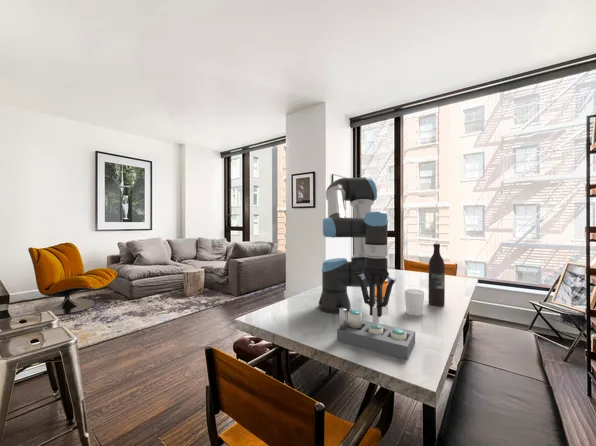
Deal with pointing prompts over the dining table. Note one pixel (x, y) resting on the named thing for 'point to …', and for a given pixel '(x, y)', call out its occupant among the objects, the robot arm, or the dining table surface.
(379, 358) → the dining table surface
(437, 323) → the dining table surface
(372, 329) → the knob middle
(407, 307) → the white cup
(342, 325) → the grey metal rod
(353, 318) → the knob
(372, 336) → the plate
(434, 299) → the wine bottle
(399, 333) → the knob
